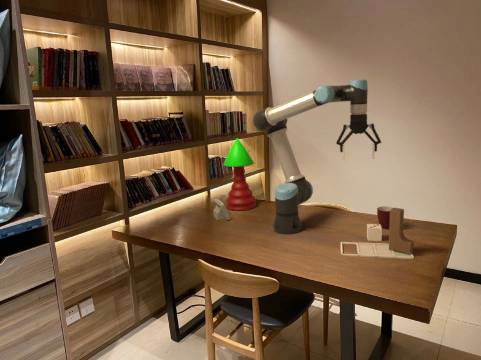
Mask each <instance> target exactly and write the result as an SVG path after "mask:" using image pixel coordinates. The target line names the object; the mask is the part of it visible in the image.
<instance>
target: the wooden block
mask: <svg viewBox="0 0 481 360" xmlns="http://www.w3.org/2000/svg"><path fill="white" fill-rule="evenodd" d="M404 215H405V209H404V208H399V207H392V209H391V210H390V225H389V229H388V230H389V231H388V233H389V234H388V244H389V250H393V251H397V252H402V253H407V254H411V253H412V254H413V252H414V250H415V248H414V247H415V241H413V240H411V239H408V238H407V237H406V236H405V233H404V220H405V219H404Z"/></svg>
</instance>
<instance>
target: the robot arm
mask: <svg viewBox="0 0 481 360" xmlns="http://www.w3.org/2000/svg"><path fill="white" fill-rule="evenodd" d="M368 90H369V88H368V80H367V79H366V78H363V79H352V80H350V83H349V84H344V85H343V84H342V85H341V84H340V85H326V84H325V85H321V86H319V87H318V88H316V89H315V90H312V91H309V92H307V93H305V94H303V95H300V96H298V97H295V98H293V99H291V100H287V101H285V102H284V103H281V104H279V105H275V106H274V107H270V106H269V107H265V108H263V109H260V110H257V111H256V112H255V113H254V115H253V118H252V124H253V127H254V128H255V129H257V131H259V132H264V133H266V137H268V138H270V139H271V142H272V145H273V147H274V150H275V153H276V156H277V158H278V161H279V164H280V167H281V169H282V172H283V175H284V178H285V180H284V183H281V184H279V185H277V186H276V187H275V189H274V201H275V202H274V203H275V217H274V220H273V224H272V230H273V232H275V233H278V234H285V235H286V234H287V235H290V234H296V233H299V232H301V231H302V230H303V224H302V220H301V218H300V215H299V206H300V205H301V204H304V203H307V201H308V200H310V199H311V198H312V196H313V193H314V188H313V185H312V184H311V182H310V181H308V180H307V179H306V177H305V176H306V175H304V174H302V173H301V171H300V167H299V165H298V162H297V160H296V157H295V154H294V152H293V149H292V146H291V143H290V140H289V137H288V135H287V131H288V127H287V123H288V119H290V118H292V117H294V116H298V115H300V114H303V113H305V112H308V111H310V110H313V109H315V108H317V107H320V106H324V105H326V104H330V103H340V102H350V104H349V105H350V106H349V107H350V108H349V109H350V110H349V113H350V118H349V124H343V128H342V130H341V132H340V135H339V136H338V138H337V140H336V142H335V143H336V145H338V146H339V152H340V153H342V160H345V143H346V141H348V139H350V137H351V136H353V134H355V135H358V134H360V135H362V134H364V135H366V136H367V138H368V139H369V140H370V141H371V142H372V143H371V144H372V145H371V147H372V150H371V158H372V159H375V153H376V152H378V144H382V141H381V140H382V139H381V138H380V137H379V134H378V132H377V131H376V128H375V124H374V123H373V122H372V123H369V124H368V114H367V113H368V92H369V91H368ZM368 128H369V129H371V131H372V133H373V135H374V137H375V138H374V137H372V136H371V134H370V133H369V132H368V131H367V129H368ZM348 129H350V131H349V132H348V134H347V135H346V136H345V138H343V136H344V134H345V132H346V130H348ZM342 138H343V140H342ZM375 139H376V140H375Z"/></svg>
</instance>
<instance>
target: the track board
mask: <svg viewBox="0 0 481 360" xmlns="http://www.w3.org/2000/svg"><path fill="white" fill-rule="evenodd" d="M343 245H356V251H357V253H343ZM340 256H342V257H345V256H346V257H362V258H382V259H383V258H385V259H404V260H415V257H414V255H413V252H412V253H411V254H407V253H402V252H397V251H393V250H389V243H383V242H382V243H377V242H356V241H355V242H354V241H353V242H351V241H340Z"/></svg>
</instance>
